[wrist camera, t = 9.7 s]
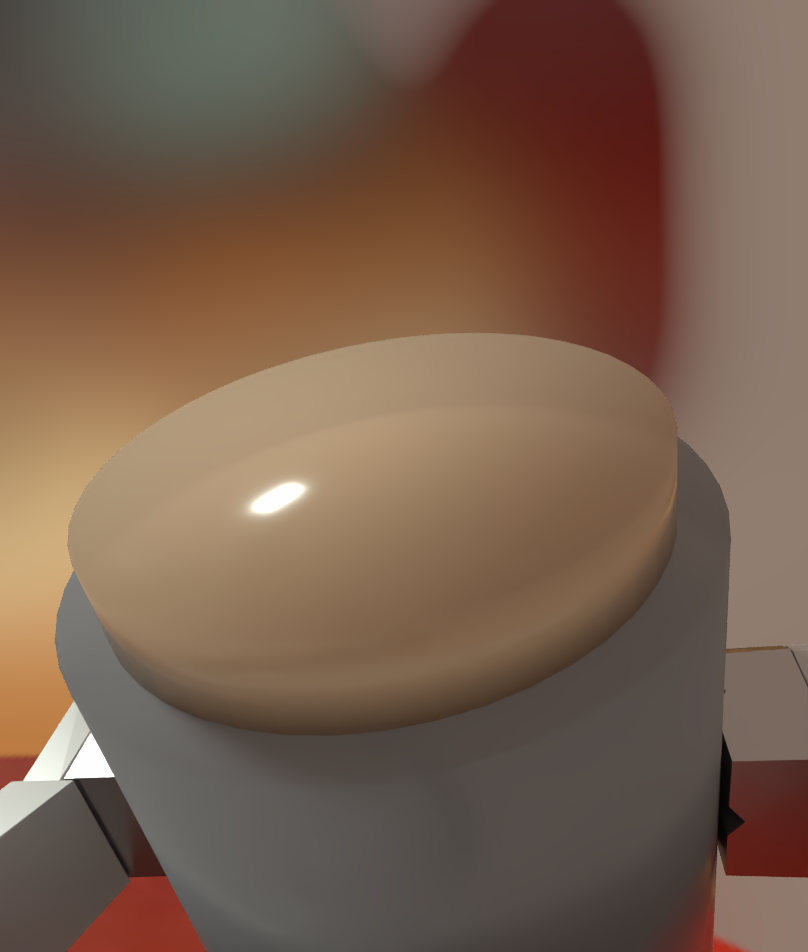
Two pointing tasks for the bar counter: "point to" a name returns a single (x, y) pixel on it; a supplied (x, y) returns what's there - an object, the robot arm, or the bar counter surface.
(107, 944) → the bar counter surface
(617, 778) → the sugar jar
